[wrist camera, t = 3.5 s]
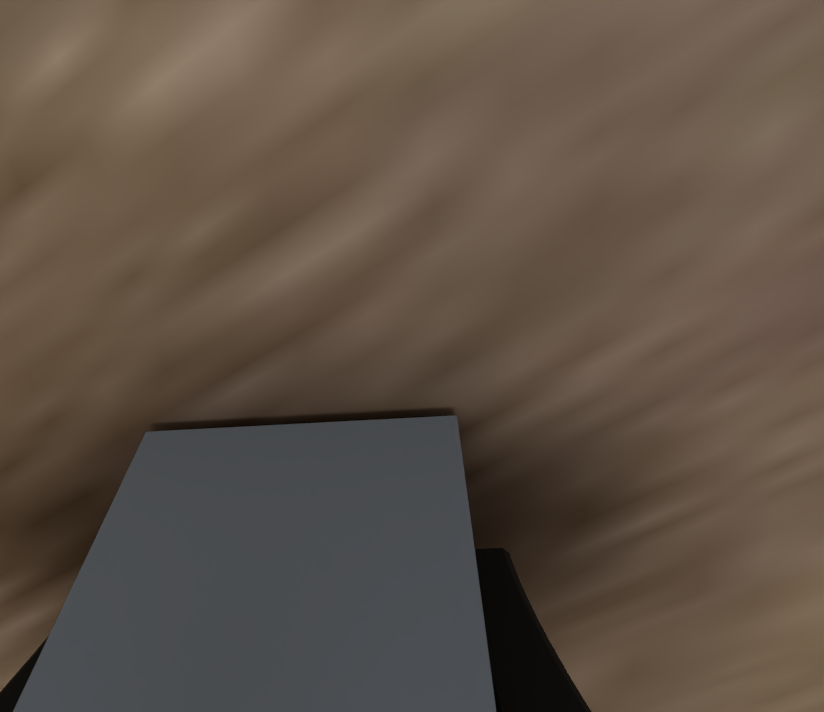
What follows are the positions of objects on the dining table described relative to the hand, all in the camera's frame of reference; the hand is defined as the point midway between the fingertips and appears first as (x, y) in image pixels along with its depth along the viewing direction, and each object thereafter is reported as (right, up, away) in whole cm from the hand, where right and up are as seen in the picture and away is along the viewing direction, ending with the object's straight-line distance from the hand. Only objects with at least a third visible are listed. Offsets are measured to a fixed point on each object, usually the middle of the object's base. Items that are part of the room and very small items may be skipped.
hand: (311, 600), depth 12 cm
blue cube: (0, +1, +1) cm, 1 cm away
